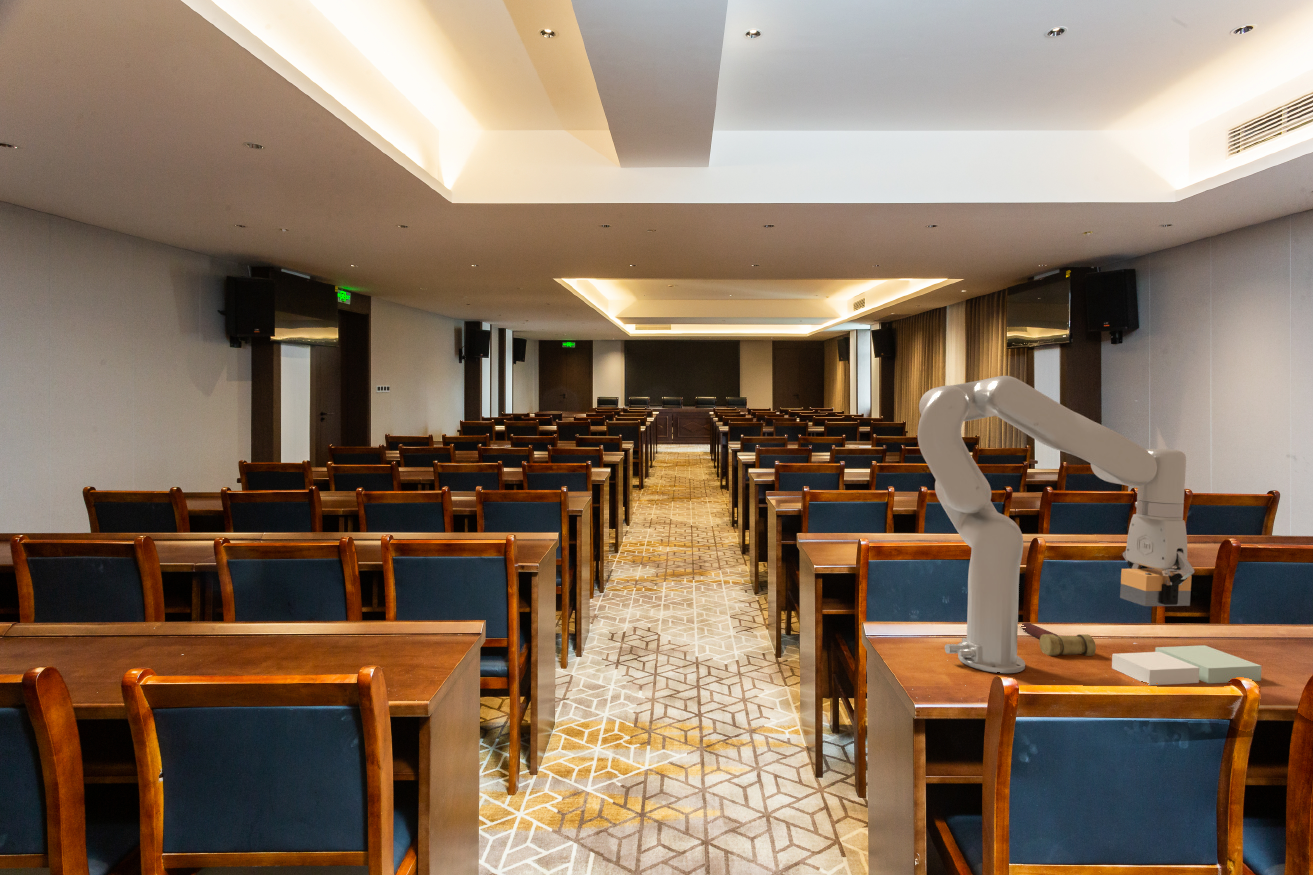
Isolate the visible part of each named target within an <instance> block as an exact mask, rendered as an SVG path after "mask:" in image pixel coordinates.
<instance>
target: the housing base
mask: <svg viewBox="0 0 1313 875" xmlns="http://www.w3.org/2000/svg"><path fill="white" fill-rule="evenodd" d="M1119 591H1120V592H1119V598H1120V599H1122V600H1125V601H1127V602H1130V603H1131V602H1132V603H1134V604H1138V605H1140V606H1143V607H1183V606H1184V607H1185V606H1186V607H1190V606H1191V591H1192V590H1191V591H1178V604H1177V605H1164V604H1162V603H1161V594H1162V591H1144V590H1141V589H1138V588H1134V587H1131V586H1128V585H1125V584H1121V583H1120V589H1119Z"/></svg>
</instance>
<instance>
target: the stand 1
mask: <svg viewBox="0 0 1313 875" xmlns="http://www.w3.org/2000/svg"><path fill="white" fill-rule="evenodd" d="M1111 658H1112V659H1111V669H1112V670H1115V671H1118V672H1120V673H1122V674H1124V675H1126V676H1127V677H1130V678H1133V679H1135V680H1136V681H1138V682H1141V681H1143V682H1147V683H1149V684H1148V686H1161V685H1181V684H1184V685H1185V684H1199V683H1200V680H1199V667H1196V666H1194V665H1191V664H1189V663H1186V662H1184V661H1181V660H1179V659H1176V658H1174V657H1171V656H1169V655H1166V654H1164V653H1161V652H1155V651H1147V652H1144V651H1143V652H1125V653H1112V656H1111ZM1143 682H1142V683H1143ZM1156 683H1158V684H1156Z"/></svg>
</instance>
